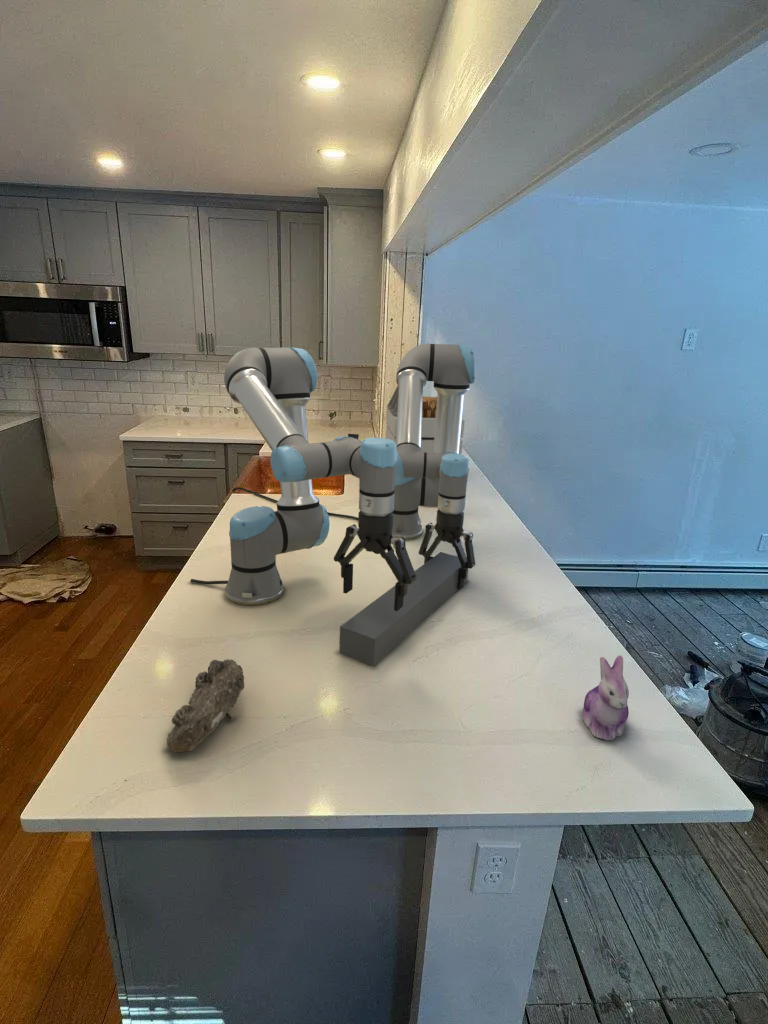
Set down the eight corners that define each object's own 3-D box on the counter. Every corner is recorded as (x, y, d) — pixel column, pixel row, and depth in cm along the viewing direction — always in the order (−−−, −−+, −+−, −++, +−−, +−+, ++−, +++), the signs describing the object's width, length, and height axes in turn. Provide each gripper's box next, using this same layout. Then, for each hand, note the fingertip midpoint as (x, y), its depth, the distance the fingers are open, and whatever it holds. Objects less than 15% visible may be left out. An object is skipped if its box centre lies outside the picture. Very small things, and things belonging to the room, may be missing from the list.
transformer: (382, 463, 289) (386, 382, 275) (445, 464, 293) (451, 384, 279) (390, 482, 257) (394, 392, 243) (460, 483, 261) (468, 394, 247)
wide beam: (438, 572, 172) (440, 551, 169) (467, 581, 167) (469, 559, 165) (339, 652, 130) (339, 626, 127) (373, 666, 125) (375, 639, 123)
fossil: (192, 660, 117) (244, 628, 112) (224, 691, 120) (276, 661, 115) (142, 746, 98) (202, 712, 93) (182, 779, 101) (242, 748, 96)
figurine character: (358, 454, 309) (358, 445, 322) (358, 441, 305) (359, 432, 319) (345, 454, 308) (347, 445, 322) (346, 441, 305) (347, 432, 319)
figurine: (608, 750, 104) (623, 681, 99) (567, 715, 113) (579, 651, 107) (643, 734, 108) (659, 668, 103) (601, 702, 117) (614, 640, 112)
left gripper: (318, 503, 124) (318, 590, 131) (419, 529, 112) (412, 623, 119) (338, 495, 130) (337, 578, 137) (436, 519, 118) (429, 608, 125)
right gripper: (409, 505, 159) (404, 577, 167) (482, 522, 149) (474, 598, 156) (421, 498, 165) (416, 568, 173) (493, 515, 155) (484, 588, 162)
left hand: (372, 599), depth 128 cm, fingers open, 13 cm apart
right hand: (444, 582), depth 164 cm, fingers closed on wide beam, 9 cm apart
